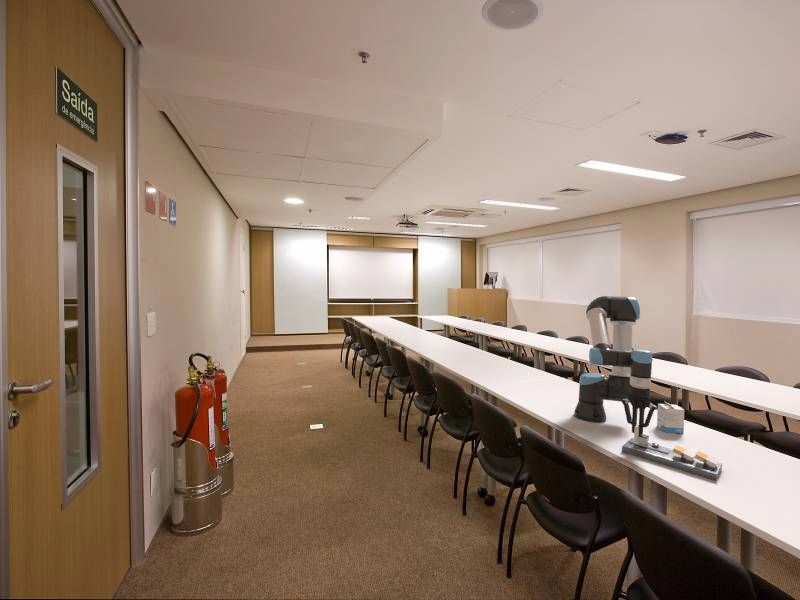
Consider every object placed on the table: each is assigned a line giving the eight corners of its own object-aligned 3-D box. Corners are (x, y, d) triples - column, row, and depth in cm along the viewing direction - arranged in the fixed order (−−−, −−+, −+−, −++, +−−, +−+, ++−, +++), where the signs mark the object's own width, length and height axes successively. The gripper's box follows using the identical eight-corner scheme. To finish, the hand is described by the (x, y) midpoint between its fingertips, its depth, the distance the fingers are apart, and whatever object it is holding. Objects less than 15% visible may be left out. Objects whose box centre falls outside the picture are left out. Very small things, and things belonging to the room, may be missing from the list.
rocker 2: (694, 458, 146) (695, 454, 146) (697, 453, 150) (698, 450, 150) (714, 468, 142) (716, 464, 142) (717, 463, 146) (718, 460, 145)
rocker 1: (672, 451, 151) (673, 448, 151) (675, 447, 155) (676, 444, 155) (691, 461, 147) (692, 458, 147) (694, 457, 151) (695, 453, 151)
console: (621, 451, 161) (622, 443, 161) (631, 443, 170) (631, 435, 170) (716, 481, 139) (717, 471, 139) (721, 469, 148) (722, 460, 148)
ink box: (683, 434, 183) (685, 406, 182) (664, 432, 184) (666, 405, 184) (674, 427, 191) (676, 401, 190) (656, 425, 193) (657, 399, 192)
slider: (637, 445, 161) (638, 435, 161) (639, 443, 163) (640, 433, 163) (646, 447, 159) (646, 438, 159) (648, 445, 161) (649, 436, 161)
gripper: (619, 384, 164) (616, 438, 165) (655, 391, 154) (652, 448, 155) (625, 381, 169) (622, 434, 170) (660, 388, 159) (657, 443, 160)
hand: (636, 441), depth 163 cm, fingers closed
